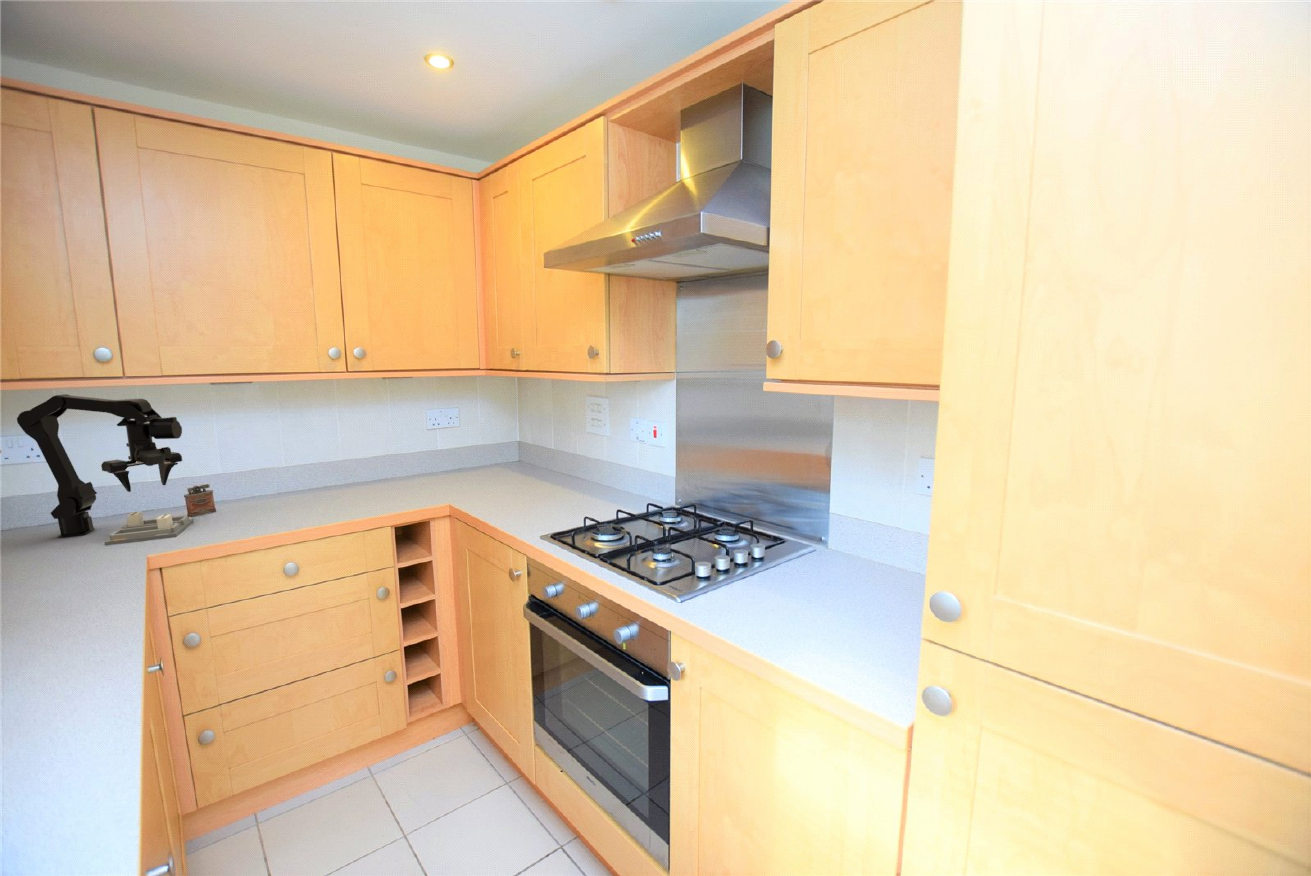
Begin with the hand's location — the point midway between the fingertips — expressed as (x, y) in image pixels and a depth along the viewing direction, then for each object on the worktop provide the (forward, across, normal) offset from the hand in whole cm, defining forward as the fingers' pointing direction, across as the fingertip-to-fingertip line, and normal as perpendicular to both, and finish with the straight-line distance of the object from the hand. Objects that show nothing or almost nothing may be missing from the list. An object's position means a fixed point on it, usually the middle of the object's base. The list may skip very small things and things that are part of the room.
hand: (147, 488), depth 185 cm
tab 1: (+12, -4, 0) cm, 12 cm away
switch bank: (+13, -3, -7) cm, 15 cm away
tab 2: (+11, -2, -13) cm, 17 cm away
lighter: (+13, +15, +1) cm, 20 cm away
